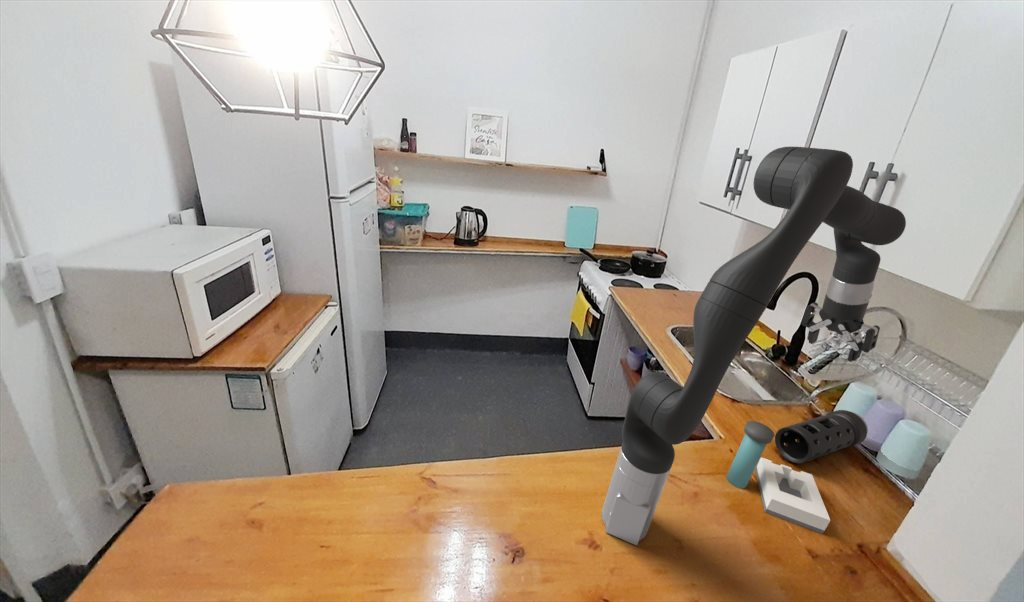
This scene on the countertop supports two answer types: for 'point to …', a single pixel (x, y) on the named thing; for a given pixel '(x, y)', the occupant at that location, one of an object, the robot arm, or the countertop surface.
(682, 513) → the countertop surface
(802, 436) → the muzzle brake
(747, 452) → the peg
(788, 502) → the keyhole plate
